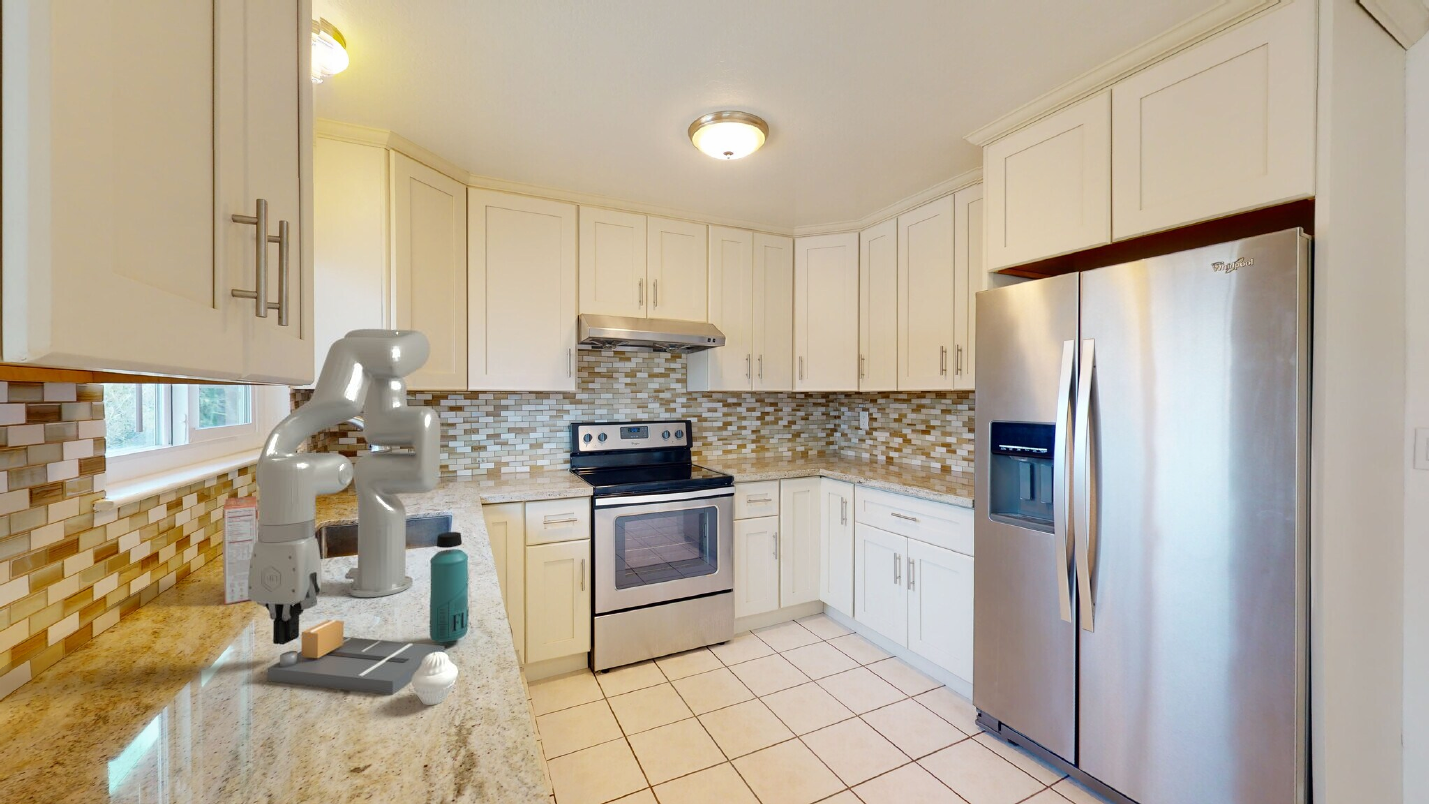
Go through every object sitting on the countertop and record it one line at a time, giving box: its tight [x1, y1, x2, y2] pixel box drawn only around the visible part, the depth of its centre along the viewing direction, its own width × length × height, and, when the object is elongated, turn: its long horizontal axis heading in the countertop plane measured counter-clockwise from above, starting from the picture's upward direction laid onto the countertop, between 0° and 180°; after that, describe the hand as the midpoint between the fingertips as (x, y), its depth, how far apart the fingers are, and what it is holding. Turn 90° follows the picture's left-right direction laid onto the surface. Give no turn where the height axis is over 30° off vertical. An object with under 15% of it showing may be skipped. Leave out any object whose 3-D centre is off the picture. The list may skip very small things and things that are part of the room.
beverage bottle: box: [428, 531, 470, 643], centre depth 100 cm, size 6×7×20 cm
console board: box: [266, 636, 445, 696], centre depth 90 cm, size 22×12×4 cm, turn 81°
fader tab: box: [301, 619, 344, 658], centre depth 91 cm, size 3×5×4 cm, turn 171°
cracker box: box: [222, 495, 259, 605], centre depth 123 cm, size 14×6×21 cm, turn 40°
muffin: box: [410, 651, 459, 706], centre depth 81 cm, size 6×6×7 cm
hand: (286, 640), depth 92 cm, fingers closed
